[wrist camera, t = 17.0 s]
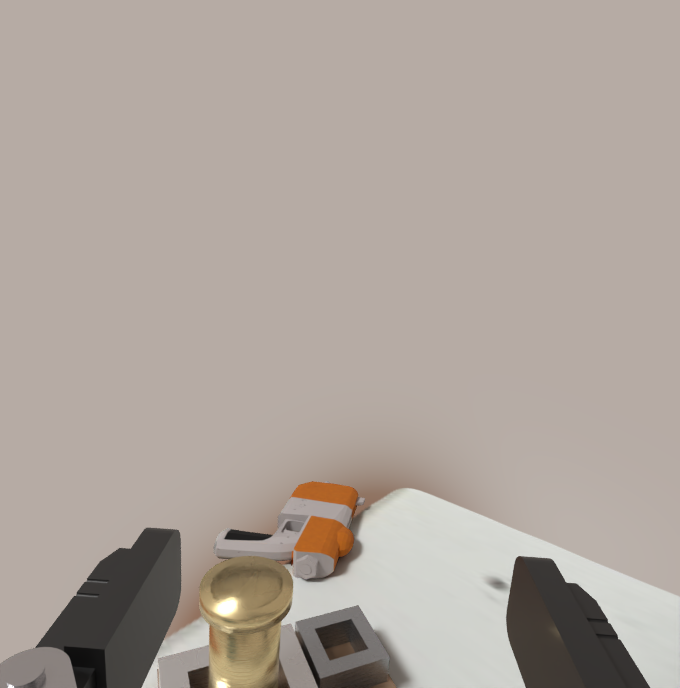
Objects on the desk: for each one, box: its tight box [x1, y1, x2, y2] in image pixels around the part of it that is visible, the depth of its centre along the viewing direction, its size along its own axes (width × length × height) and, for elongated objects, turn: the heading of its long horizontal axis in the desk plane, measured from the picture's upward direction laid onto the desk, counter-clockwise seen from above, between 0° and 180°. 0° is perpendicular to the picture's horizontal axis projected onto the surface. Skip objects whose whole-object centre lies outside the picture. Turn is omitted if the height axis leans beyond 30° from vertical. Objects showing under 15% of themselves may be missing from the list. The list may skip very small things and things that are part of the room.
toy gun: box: [214, 481, 365, 580], centre depth 65 cm, size 3×19×15 cm
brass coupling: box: [199, 556, 293, 688], centre depth 37 cm, size 6×6×12 cm
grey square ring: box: [295, 606, 390, 688], centre depth 44 cm, size 6×6×2 cm
